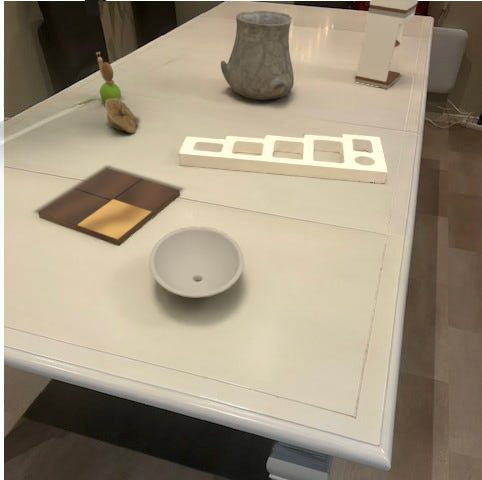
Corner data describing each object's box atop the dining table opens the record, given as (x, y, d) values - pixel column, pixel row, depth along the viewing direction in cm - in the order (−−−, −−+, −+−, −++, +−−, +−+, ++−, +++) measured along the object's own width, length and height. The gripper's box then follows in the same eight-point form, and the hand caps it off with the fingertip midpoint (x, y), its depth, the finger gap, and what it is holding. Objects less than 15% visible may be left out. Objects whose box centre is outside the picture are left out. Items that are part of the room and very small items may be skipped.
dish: (155, 250, 83) (153, 226, 79) (238, 249, 84) (239, 225, 81) (148, 322, 70) (145, 297, 67) (246, 320, 71) (248, 295, 68)
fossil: (107, 114, 111) (107, 89, 116) (96, 127, 113) (97, 102, 118) (139, 135, 116) (137, 111, 122) (128, 147, 119) (127, 123, 124)
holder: (178, 165, 106) (178, 153, 104) (194, 131, 119) (193, 121, 117) (384, 183, 104) (387, 172, 102) (377, 147, 117) (379, 137, 115)
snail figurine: (113, 97, 134) (106, 50, 126) (125, 104, 131) (120, 56, 122) (95, 101, 131) (88, 53, 123) (108, 108, 128) (101, 60, 120)
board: (39, 217, 89) (37, 211, 88) (107, 173, 102) (106, 167, 101) (118, 245, 84) (117, 239, 83) (180, 195, 97) (179, 189, 96)
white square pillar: (387, 89, 148) (421, -52, 124) (354, 82, 151) (381, -57, 127) (398, 79, 155) (431, -56, 131) (366, 73, 159) (393, -60, 135)
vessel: (242, 113, 129) (245, 29, 115) (211, 86, 144) (211, 9, 130) (312, 104, 136) (323, 24, 122) (276, 79, 151) (282, 5, 137)
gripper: (91, -121, 81) (110, 22, 96) (104, -125, 99) (118, -5, 114) (45, -123, 80) (71, 21, 95) (66, -127, 99) (86, -5, 113)
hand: (97, 8), depth 104 cm, fingers open, 13 cm apart
